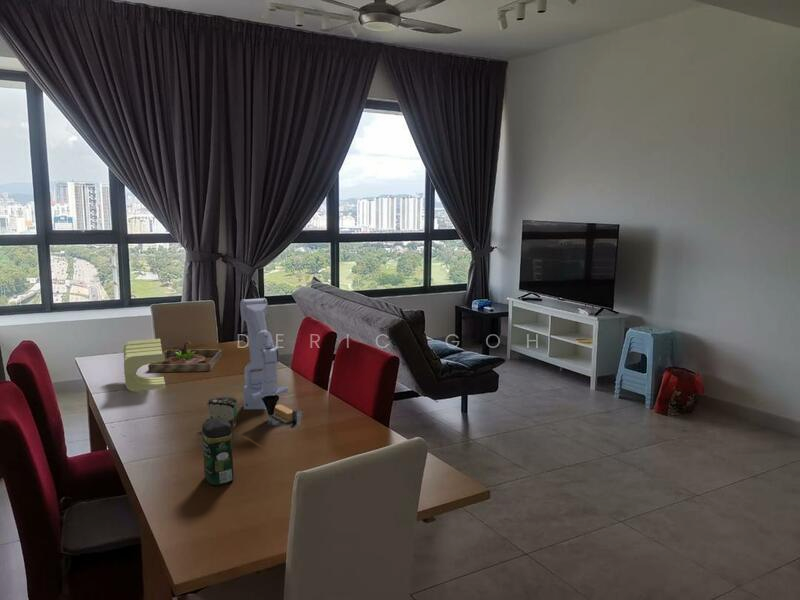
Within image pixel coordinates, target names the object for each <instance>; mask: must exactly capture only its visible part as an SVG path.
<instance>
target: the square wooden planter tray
mask: <svg viewBox="0 0 800 600" xmlns="http://www.w3.org/2000/svg"><path fill="white" fill-rule="evenodd" d="M189 350H190V353H192V352H194V351H195V353H193V354H197V355H202V356H204V357H212V358H211V360H210V361H209V362H207V363H206V364H163V363H162V362H156V363H150V364H147V365H148V367H147V368H148V373H165V372H166V373H167V372H168V373H169V372H170V373H171V372H173V373H174V372H211V371H212V370H213V368H214V367H215V366H216V365H217V363H218V362H219V361H220V359H221V358H222V357H223V349H215V348H214V349H213V348H212V349H206V348H205V349H189ZM175 352H179V353H180V349H175V351H173V350H172V349H166V350H165V349H164V351H162V354H165V359H167V358H169V357H174V356H176V355H177V354H176V353H175ZM177 356H178V355H177Z"/></svg>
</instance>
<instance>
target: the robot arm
mask: <svg viewBox="0 0 800 600" xmlns="http://www.w3.org/2000/svg"><path fill="white" fill-rule="evenodd" d="M239 307H240V308H239V309H240V317H241V320H242V321H244V322H246V323H245V324H246V328H247V337H248V338H247V339H248V345H249V346H248V347H249V359H250V362H249V363H248V364H247V365H246V366H245V368H244V373H243V374H244V376H243V377H244V383H245V385H244V386H243V392H242V393H243V394H242V396H243V397H242V398H243V410H266V412H267V415H268V416H270V415H273V414H274V410H275V406H276V404H278V402H279V399H280V396H279V395H280V394H287V393H289V388H288V387H286V386H281V387H279V386H278V363H279V360H280V352H279V348H277V346H276V345H275V344H274V341H273V337H272V333H271V332H270V331H268V329H267V323H266V322H267V321H266V316H267V313H268V310H269V304H268V300H267V298H265V297H261V298H260V297H258V298H247V299H244V298H242V299H241V300H240V303H239Z"/></svg>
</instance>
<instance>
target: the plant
mask: <svg viewBox="0 0 800 600" xmlns="http://www.w3.org/2000/svg"><path fill="white" fill-rule="evenodd" d="M191 344H192V343H191V341H186V342H184V345H183V348H182V347H179V346H175V347H173V348H172V349H171V350H173V351H175V350H176V349H178V350H180V353H179V352H175V353H176V354H177V355H178V356H177V355H176V356H174V357H167V358H166V359H165V360H164V362H162V364H207V356H202V355H197V354H193V353H195V351H194V352H192V353H190V350H191V349H189V348H188V347H186V346H187V345H189V346H190V345H191Z"/></svg>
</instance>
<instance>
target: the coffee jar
mask: <svg viewBox="0 0 800 600" xmlns="http://www.w3.org/2000/svg"><path fill="white" fill-rule="evenodd" d="M201 427H202V428H201V429H202V430H201V431H202V432H201V433H202V448H203V468H204V469H203V470H204V473H203V474H204V478H205V480H206V481H207V483H208V484H209V485H212V486H222V485H225V484H228V483H230V482H232V481H233V480H234V478H235V475H234V458H233V457H234V456H233V441H232V440H233V431H232V430H233V429H231V425H230V423H229V422H228V421H227V420H225V419H223V418H220V417H215V418H207V419H206V420H205V421H203V422H202V425H201Z"/></svg>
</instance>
